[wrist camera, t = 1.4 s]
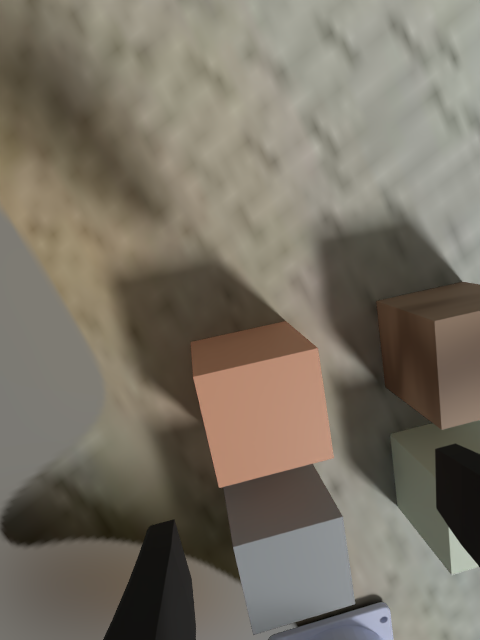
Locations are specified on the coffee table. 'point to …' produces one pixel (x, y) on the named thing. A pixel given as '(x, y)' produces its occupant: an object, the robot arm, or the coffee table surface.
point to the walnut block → (434, 351)
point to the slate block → (288, 547)
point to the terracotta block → (261, 402)
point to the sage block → (430, 486)
